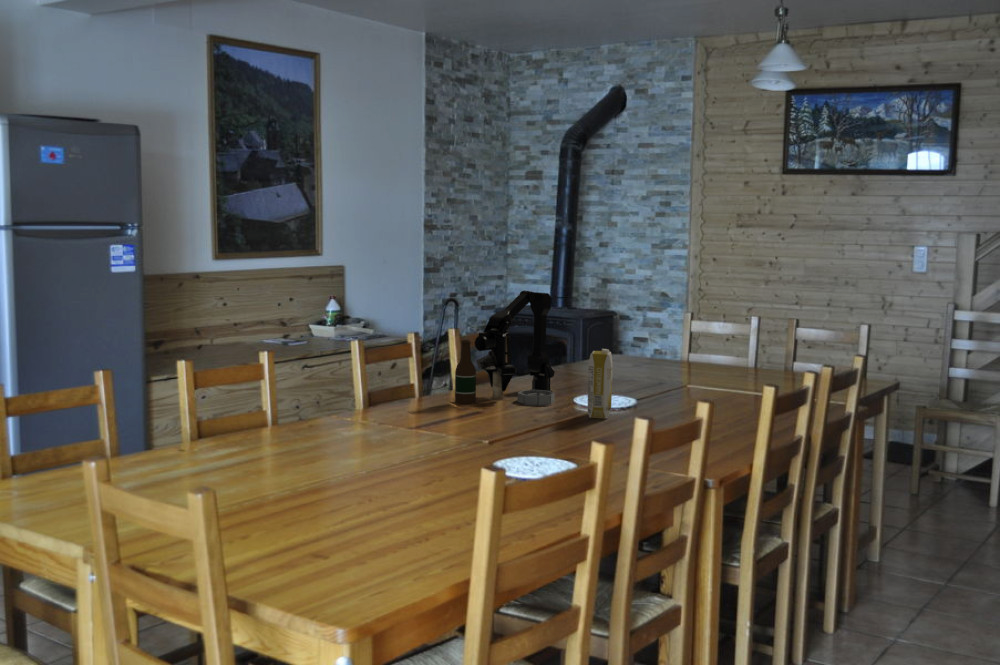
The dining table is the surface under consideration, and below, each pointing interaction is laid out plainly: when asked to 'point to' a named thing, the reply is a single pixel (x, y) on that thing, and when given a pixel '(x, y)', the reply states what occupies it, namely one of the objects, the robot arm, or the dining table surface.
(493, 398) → the coaster
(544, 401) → the bowl
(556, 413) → the dining table surface
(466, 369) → the beer bottle
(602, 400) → the juice carton
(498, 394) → the square wooden post
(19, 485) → the dining table surface
